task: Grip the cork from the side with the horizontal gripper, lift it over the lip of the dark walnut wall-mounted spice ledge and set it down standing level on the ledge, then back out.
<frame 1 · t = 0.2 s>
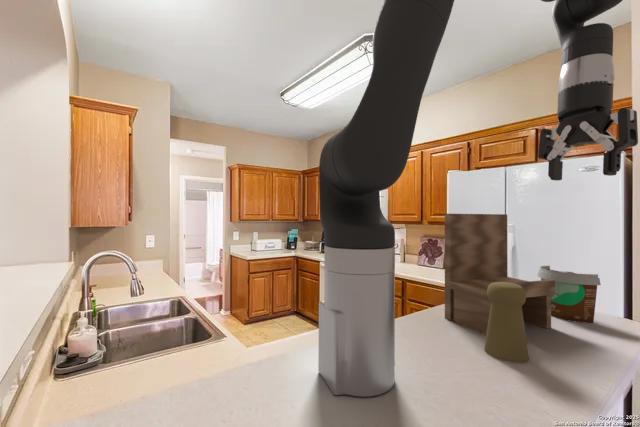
hand: (581, 177, 54), 28 cm above the countertop, tool pointing down, fingers open, 8 cm apart
cork: (506, 354, 47), on the countertop
food container: (559, 316, 65), on the countertop
spice ledge: (501, 324, 60), on the countertop
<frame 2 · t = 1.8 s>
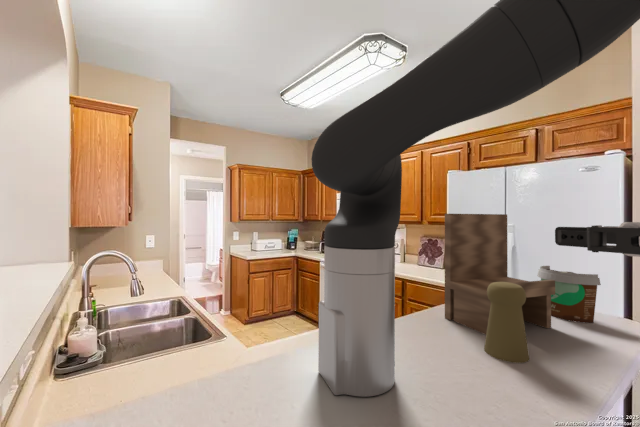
hand: (580, 235, 38), 19 cm above the countertop, tool horizontal, fingers open, 8 cm apart
nothing on the countertop moved.
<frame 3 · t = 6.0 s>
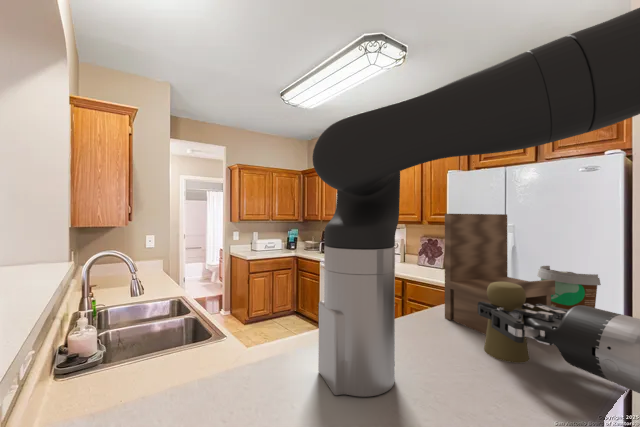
hand: (490, 306, 49), 7 cm above the countertop, tool horizontal, fingers closed on cork, 4 cm apart
cork: (505, 354, 47), on the countertop, touching gripper
everything else where it was.
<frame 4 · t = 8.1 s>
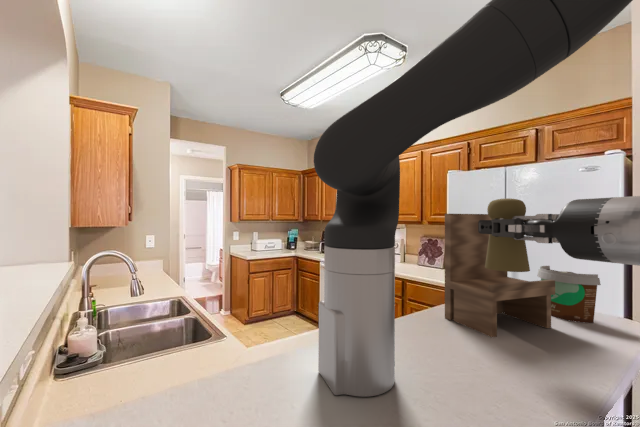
hand: (490, 226, 50), 20 cm above the countertop, tool horizontal, fingers closed on cork, 4 cm apart
cork: (506, 270, 47), point 13 cm above the countertop, touching gripper
everything else where it was.
when the fingers open (16 cm above the countertop, at t = 10.5 s): cork moves 3 cm, point 8 cm above the countertop.
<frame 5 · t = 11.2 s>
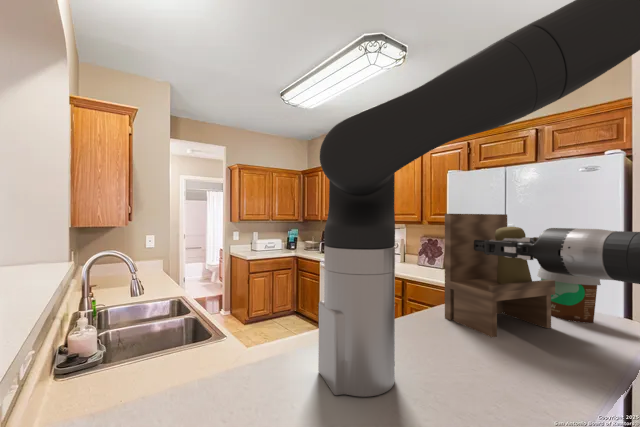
hand: (491, 244, 62), 16 cm above the countertop, tool horizontal, fingers open, 8 cm apart
cork: (514, 282, 60), point 8 cm above the countertop, touching gripper
everything else where it was.
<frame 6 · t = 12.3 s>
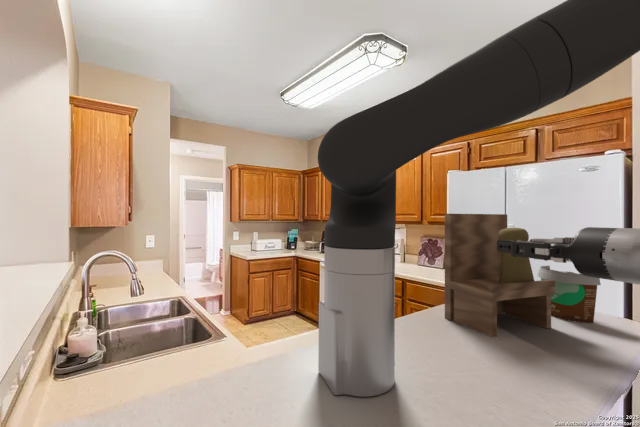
hand: (514, 245, 57), 16 cm above the countertop, tool horizontal, fingers open, 8 cm apart
cork: (516, 283, 60), point 8 cm above the countertop, touching spice ledge
everything else where it was.
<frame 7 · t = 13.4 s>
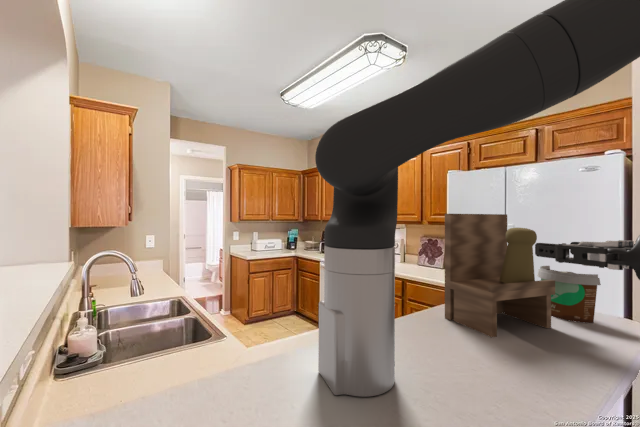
hand: (554, 248, 51), 16 cm above the countertop, tool horizontal, fingers open, 8 cm apart
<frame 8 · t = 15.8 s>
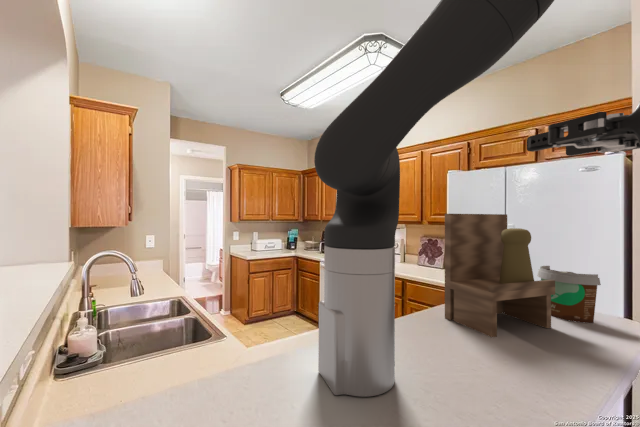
hand: (548, 147, 46), 32 cm above the countertop, tool horizontal, fingers open, 8 cm apart
at the end: cork inside the target area (3.4 cm from its centre), point 7.8 cm above the countertop; cork tilted 1°; the gripper is holding nothing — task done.
